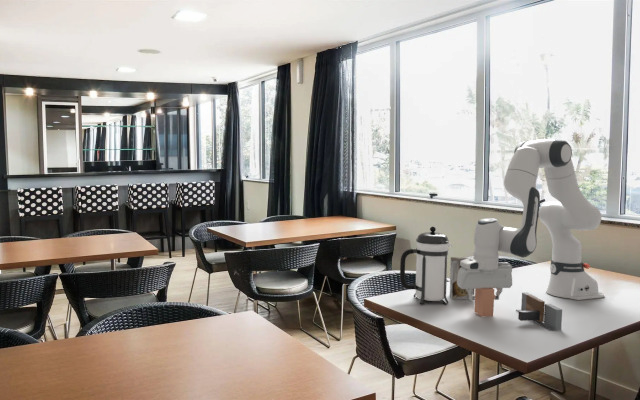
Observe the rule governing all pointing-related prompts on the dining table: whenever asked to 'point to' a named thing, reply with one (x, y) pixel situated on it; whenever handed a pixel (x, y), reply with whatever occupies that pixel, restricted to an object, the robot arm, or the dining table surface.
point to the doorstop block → (484, 301)
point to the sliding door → (533, 309)
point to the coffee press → (429, 266)
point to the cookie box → (454, 288)
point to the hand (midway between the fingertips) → (483, 299)
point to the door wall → (546, 315)
